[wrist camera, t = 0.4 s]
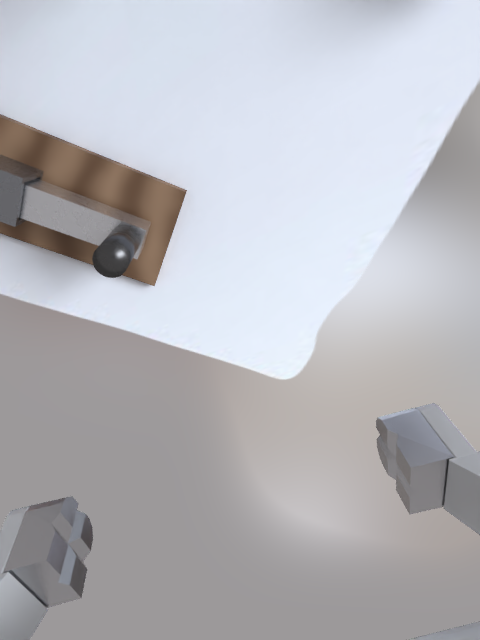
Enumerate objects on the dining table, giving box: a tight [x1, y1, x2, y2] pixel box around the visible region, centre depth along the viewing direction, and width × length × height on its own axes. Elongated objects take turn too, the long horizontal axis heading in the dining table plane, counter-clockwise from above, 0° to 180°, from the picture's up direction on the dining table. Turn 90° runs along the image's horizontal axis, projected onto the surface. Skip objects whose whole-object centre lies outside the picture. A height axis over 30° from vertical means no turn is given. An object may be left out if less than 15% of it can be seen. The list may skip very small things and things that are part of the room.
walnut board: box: [0, 114, 187, 286], centre depth 49 cm, size 37×14×2 cm, turn 67°
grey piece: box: [19, 178, 151, 278], centre depth 44 cm, size 21×4×12 cm, turn 67°
